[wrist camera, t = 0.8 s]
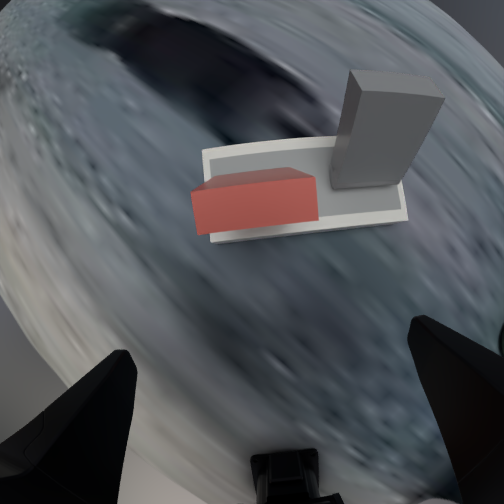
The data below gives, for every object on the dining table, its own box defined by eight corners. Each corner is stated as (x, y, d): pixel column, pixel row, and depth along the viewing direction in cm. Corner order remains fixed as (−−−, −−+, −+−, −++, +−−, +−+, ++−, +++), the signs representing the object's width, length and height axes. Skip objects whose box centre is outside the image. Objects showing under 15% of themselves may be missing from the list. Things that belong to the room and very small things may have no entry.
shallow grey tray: (392, 224, 23) (408, 220, 20) (217, 244, 24) (210, 242, 21) (378, 147, 24) (391, 134, 20) (208, 161, 24) (201, 149, 21)
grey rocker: (395, 189, 20) (445, 98, 11) (333, 193, 20) (362, 90, 11) (388, 169, 20) (430, 77, 12) (328, 173, 21) (349, 69, 12)
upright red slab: (289, 191, 21) (319, 220, 12) (220, 199, 21) (197, 234, 12) (287, 166, 20) (315, 176, 11) (216, 174, 20) (190, 192, 12)
